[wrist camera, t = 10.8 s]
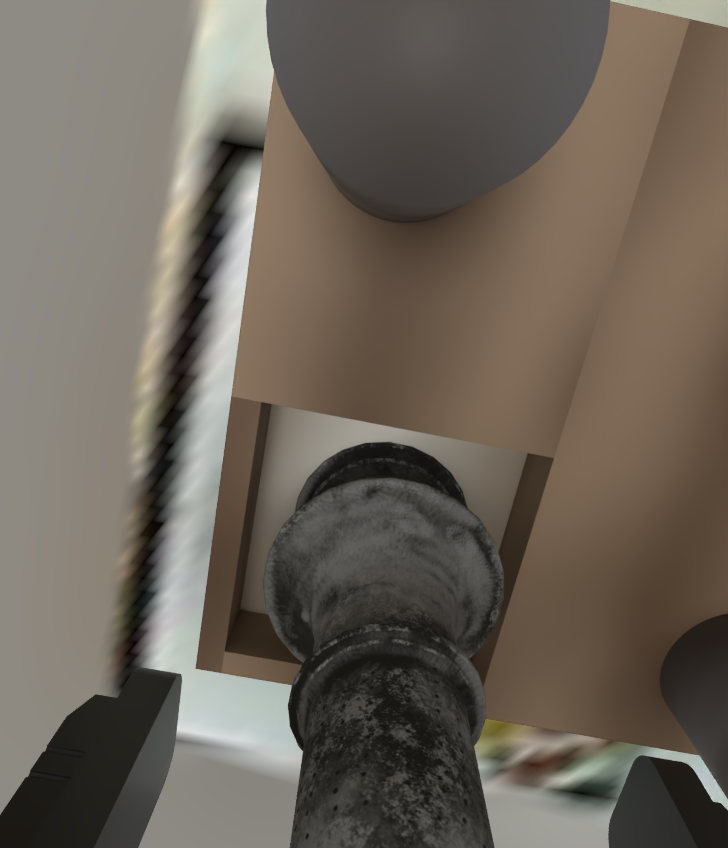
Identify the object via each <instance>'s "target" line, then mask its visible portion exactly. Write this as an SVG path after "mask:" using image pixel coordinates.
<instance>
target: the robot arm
mask: <svg viewBox="0 0 728 848" xmlns="http://www.w3.org/2000/svg"><path fill="white" fill-rule="evenodd" d="M181 684H182V676H181V674H177V673H171V672H166V671H160V670H154V669H148V668H143V667H137V668H136V669H135V670H134V671H133V673H132V674H131V676H130V678H129V679H128V681H127V683H126V685H125V686H124V688H123V690H122V691H121V693H120V695H119V696H118V698H114V697H108V696H102V695H94V696H93V697H92V698H90V699H89V700H88V701H87V702H85V703H84V704H83V705H82V706H80V707H79V708H77V709H76V710H75V711H73V712H72V713H71V714H70V715H68V716H67V717H66V719H65V720H64V721H63V723H62V724H61V726H60V727H59V729H58V730H57V732H56V733H55V735H54V736H53V738H52V739H51V741H50V742H49V744H48V745H47V748H46V751H45V752H43V753H42V754H41V756H40V757H39V758H38V760H37V761H36V763H35V764H34V766H33V768H32V769H31V771H30V774H29V776H28V777H26V778H25V779H24V781H23V782H22V784H21V785H20V787H19V788H18V789H17V791H16V793H15V794H14V795H13V797H12V798H11V800H10V801H9V803H8V804H7V806H6V807H5V809H4V810H3V812H2V813H1V815H0V848H138V847H139V844H140V842H141V839H142V837H143V834H144V832H145V830H146V827H147V825H148V822H149V820H150V817H151V815H152V812H153V810H154V808H155V805H156V803H157V800H158V798H159V795H160V793H161V790H162V788H163V785H164V783H165V780H166V777H167V774H168V771H169V768H170V764H171V760H172V756H173V752H174V746H175V739H176V730H177V721H178V712H179V703H180V694H181ZM609 848H728V810H727V809H726V808H725V807H724V806H723V805H722V804H721V803H717V802H713V801H712V800H711V798H710V796H709V795H708V793H707V791H706V790H705V788H704V786H703V785H702V783H701V781H700V779H699V778H698V776H697V774H696V773H695V771H694V770H693V769H692V768H691V767H690V766H689V765H688V764H686V763H684V762H678V761H672V760H666V759H660V758H655V757H649V756H642V755H641V756H639V757H637V758H636V759H635V761H634V763H633V765H632V767H631V770H630V772H629V774H628V777H627V779H626V782H625V784H624V787H623V789H622V792H621V794H620V797H619V799H618V801H617V804H616V806H615V809H614V811H613V814H612V816H611V819H610V824H609Z"/></svg>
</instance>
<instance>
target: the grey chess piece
mask: <svg viewBox="0 0 728 848" xmlns="http://www.w3.org/2000/svg"><path fill="white" fill-rule="evenodd" d="M263 590H264V598H265V607H266V611H267V613H268V615H269V618H270V620H271V622H272V625H273V627H274V629H275V632H276V634H277V635H278V637H279V638H280V639H281V640H282V642H283V643H284V644H285V645H286V647H287V648H288V649H289V650H290V651H291V653H292V654H293V655H294V656H295V657H296V658H297V659H299V660H300V661H301V662H303V664H302V666H301V668H300V670H299V671H298V673H297V675H296V677H295V678H294V680H293V684H292V689H291V693H290V698H289V703H288V710H289V720H290V727H291V730H292V732H293V734H294V737H295V739H296V741H297V744H298V746H299V747H300V748H301V750H302V751H303V756H302V764H301V771H300V778H299V785H298V792H297V800H296V807H295V815H294V821H293V829H292V836H291V843H290V848H494V843H493V838H492V834H491V829H490V824H489V819H488V814H487V809H486V804H485V799H484V794H483V789H482V784H481V779H480V774H479V769H478V764H477V759H476V755H475V750H474V746H475V744H476V743H477V741H478V740H479V737H480V734H481V731H482V728H483V726H484V723H485V720H486V696H485V692H484V689H483V686H482V682H481V679H480V676H479V673H478V672H477V670H476V669H475V667H474V666H473V664H472V663H471V661H470V660H469V658H470V657H471V656H473V655H474V654H475V653H476V652H477V651H478V650H479V649H480V648H481V646H482V645H483V643H484V642H485V640H486V639H487V638H488V636H489V635H490V633H491V632H492V630H493V629H494V627H495V625H496V622H497V619H498V616H499V613H500V610H501V607H502V603H503V600H504V571H503V567H502V564H501V560H500V557H499V553H498V550H497V546H496V544H495V542H494V540H493V539H492V537H491V536H490V534H489V533H488V531H487V530H486V528H485V526H484V525H483V523H482V522H481V520H480V519H479V518H478V517H477V516H476V515H475V514H474V513H472V512H471V511H470V510H469V509H468V507H467V504H466V500H465V497H464V494H463V491H462V489H461V487H460V486H459V484H458V483H457V481H456V480H455V478H454V476H453V475H452V473H451V472H450V471H449V470H448V469H447V468H446V467H444V466H443V465H442V464H441V463H440V462H439V461H438V460H436V459H435V458H434V457H433V456H431V455H429V454H427V453H425V452H423V451H420V450H418V449H416V448H414V447H412V446H407V445H402V444H398V443H393V442H373V443H363V444H360V445H357V446H353V447H350V448H347V449H343V450H341V451H340V452H338V453H337V454H335V455H333V456H332V457H330V458H328V459H327V460H325V461H323V462H322V463H321V464H320V466H319V467H318V468H317V469H316V470H315V471H314V472H313V473H312V474H311V475H310V476H309V477H308V479H307V480H306V482H305V484H304V486H303V488H302V490H301V492H300V494H299V496H298V498H297V503H296V508H295V513H294V514H293V515H292V516H291V517H290V518H289V519H288V520H287V521H286V522H285V523H284V524H283V526H282V527H281V529H280V531H279V533H278V534H277V536H276V538H275V540H274V542H273V544H272V546H271V548H270V550H269V552H268V555H267V560H266V566H265V571H264V577H263Z"/></svg>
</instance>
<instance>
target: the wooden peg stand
mask: <svg viewBox="0 0 728 848" xmlns="http://www.w3.org/2000/svg"><path fill="white" fill-rule="evenodd" d="M266 17H267V36H268V43H269V49H270V55H271V61H272V64H273V68H274V77H273V84H272V92H271V100H270V107H269V115H268V122H267V130H266V138H265V145H264V153H263V160H262V168H261V176H260V183H259V191H258V198H257V206H256V214H255V221H254V229H253V236H252V244H251V252H250V259H249V267H248V274H247V282H246V290H245V297H244V305H243V312H242V320H241V328H240V335H239V343H238V350H237V358H236V366H235V373H234V381H233V388H232V396H231V404H230V411H229V419H228V426H227V434H226V442H225V449H224V457H223V464H222V472H221V480H220V487H219V495H218V503H217V510H216V518H215V525H214V533H213V541H212V548H211V556H210V563H209V571H208V579H207V586H206V594H205V601H204V609H203V617H202V624H201V632H200V639H199V647H198V655H197V662H196V669H201V670H207V671H213V672H219V673H224V674H230V675H236V676H242V677H248V678H253V679H259V680H265V681H271V682H277V683H282V684H288V685H292V684H293V680H294V678H295V677H296V675H297V673H298V671H299V670H300V668H301V666H302V664H303V662H301V661H300V660H299V659H297V658H296V657H295V656H294V655H293V654H292V653H291V651H290V650H289V649H288V648H287V647H286V645H285V644H284V643H283V642H282V640H281V639H280V638H279V637H278V635H277V634H276V632H275V629H274V627H273V625H272V622H271V620H270V618H269V615H268V613H267V611H266V607H265V598H264V590H263V577H264V571H265V566H266V560H267V555H268V552H269V550H270V548H271V546H272V544H273V542H274V540H275V538H276V536H277V534H278V533H279V531H280V529H281V527H282V526H283V524H284V523H285V522H286V521H287V520H288V519H289V518H290V517H291V516H292V515H293V514H294V513H295V508H296V503H297V498H298V496H299V494H300V492H301V490H302V488H303V486H304V484H305V482H306V480H307V479H308V477H309V476H310V475H311V474H312V473H313V472H314V471H315V470H316V469H317V468H318V467H319V466H320V464H321V463H322V462H323V461H325V460H327V459H328V458H330V457H332V456H333V455H335V454H337V453H338V452H340V451H341V450H343V449H347V448H350V447H353V446H357V445H360V444H363V443H373V442H393V443H398V444H402V445H407V446H412V447H414V448H416V449H418V450H420V451H423V452H425V453H427V454H429V455H431V456H433V457H434V458H435V459H436V460H438V461H439V462H440V463H441V464H442V465H443V466H444V467H446V468H447V469H448V470H449V471H450V472H451V473H452V475H453V476H454V478H455V480H456V481H457V483H458V484H459V486H460V487H461V489H462V491H463V494H464V497H465V500H466V504H467V507H468V509H469V510H470V511H471V512H472V513H474V514H475V515H476V516H477V517H478V518H479V519H480V520H481V522H482V523H483V525H484V526H485V528H486V530H487V531H488V533H489V534H490V536H491V537H492V539H493V540H494V542H495V544H496V546H497V550H498V553H499V557H500V560H501V564H502V567H503V571H504V600H503V603H502V607H501V610H500V613H499V616H498V619H497V622H496V625H495V627H494V629H493V630H492V632H491V633H490V635H489V636H488V638H487V639H486V640H485V642H484V643H483V645H482V646H481V648H480V649H479V650H478V651H477V652H476V653H475V654H474V655H473V656H471V657H470V658H469V660H470V661H471V663H472V664H473V666H474V667H475V669H476V670H477V672H478V673H479V676H480V679H481V682H482V686H483V689H484V692H485V696H486V719H492V720H497V721H503V722H509V723H515V724H521V725H526V726H532V727H538V728H544V729H550V730H555V731H561V732H567V733H573V734H579V735H584V736H590V737H596V738H602V739H608V740H614V741H619V742H625V743H631V744H637V745H643V746H648V747H654V748H660V749H666V750H672V751H677V752H683V753H689V754H695V755H700V757H701V758H702V760H703V761H704V763H705V764H706V766H707V767H708V769H709V771H710V772H711V774H712V775H713V777H714V778H715V780H716V781H717V783H718V785H719V786H720V788H721V789H722V791H723V792H724V794H725V795H726V797H727V799H728V28H727V27H722V26H718V25H713V24H709V23H704V22H700V21H696V20H691V19H687V18H682V17H678V16H673V15H669V14H664V13H660V12H656V11H651V10H647V9H642V8H638V7H633V6H629V5H624V4H620V3H615V2H611V1H610V0H267V4H266Z"/></svg>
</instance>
